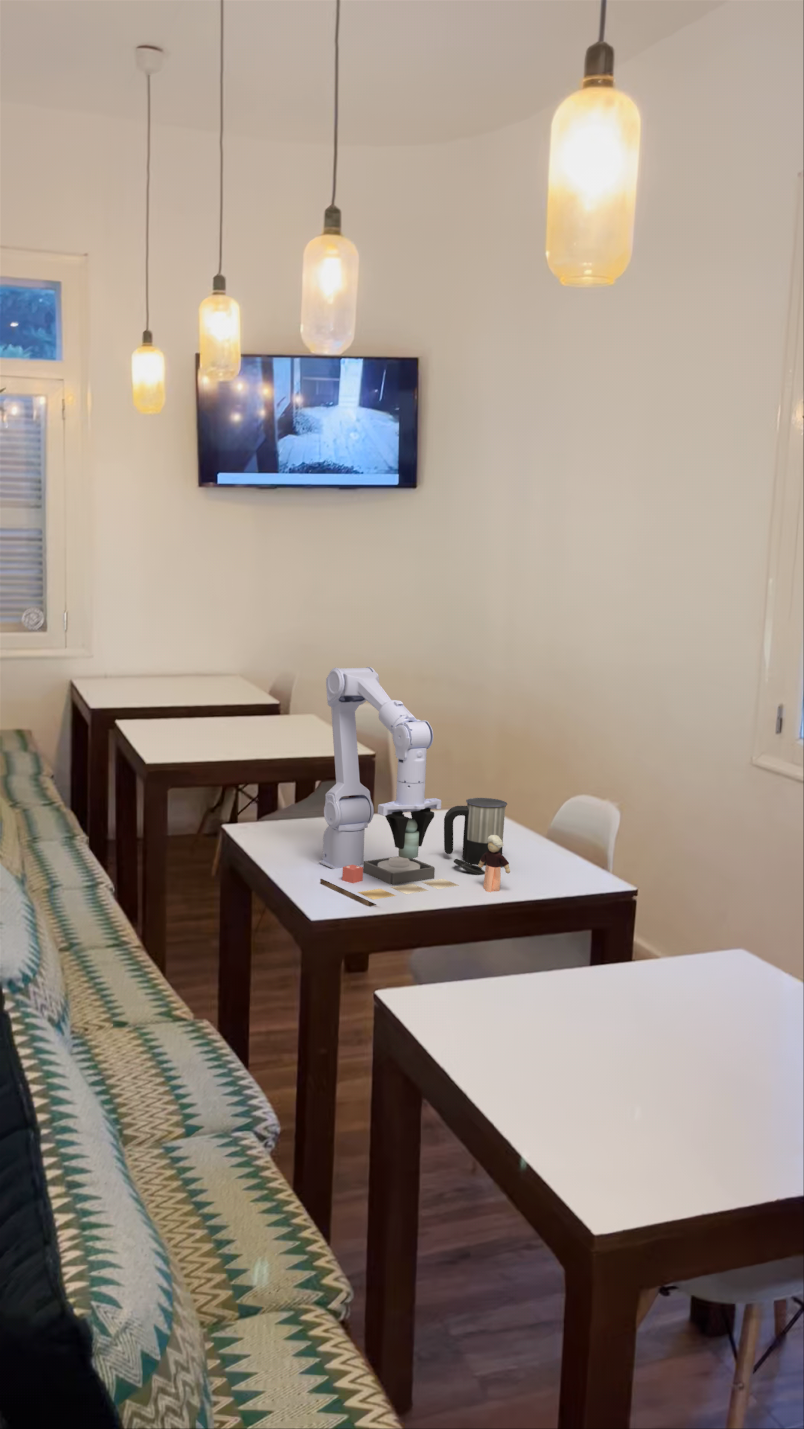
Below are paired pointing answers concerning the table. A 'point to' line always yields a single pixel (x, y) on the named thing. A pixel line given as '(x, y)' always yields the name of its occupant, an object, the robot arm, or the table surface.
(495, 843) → the grandmother figurine
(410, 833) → the pawn
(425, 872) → the dark grey square tray
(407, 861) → the white stepped disc
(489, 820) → the milk frother
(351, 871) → the die
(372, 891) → the flat thin brownish pieces
